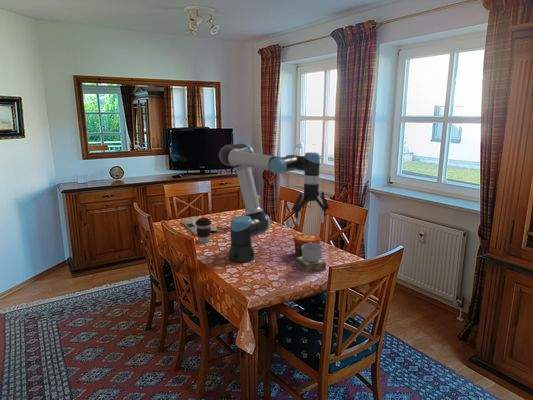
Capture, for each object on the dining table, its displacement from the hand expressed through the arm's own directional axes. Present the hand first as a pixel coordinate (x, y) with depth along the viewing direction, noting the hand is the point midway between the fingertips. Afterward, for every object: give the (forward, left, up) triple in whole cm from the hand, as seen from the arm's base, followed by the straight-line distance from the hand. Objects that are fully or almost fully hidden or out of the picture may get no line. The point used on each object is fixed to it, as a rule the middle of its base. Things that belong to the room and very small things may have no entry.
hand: (309, 223), depth 193 cm
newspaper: (-42, +91, -25) cm, 104 cm away
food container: (+6, +16, -24) cm, 29 cm away
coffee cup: (-46, +59, -24) cm, 78 cm away
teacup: (+1, -1, -20) cm, 20 cm away
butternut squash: (-7, +78, -24) cm, 82 cm away
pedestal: (0, -1, -24) cm, 24 cm away
